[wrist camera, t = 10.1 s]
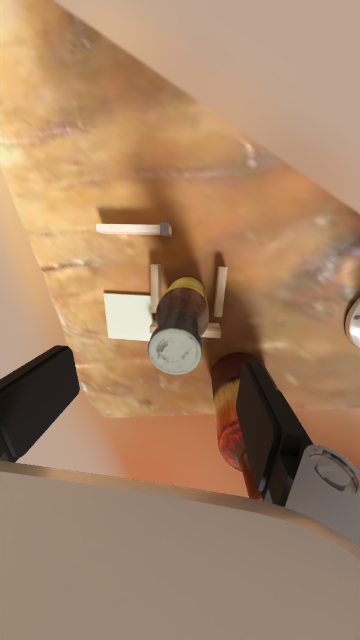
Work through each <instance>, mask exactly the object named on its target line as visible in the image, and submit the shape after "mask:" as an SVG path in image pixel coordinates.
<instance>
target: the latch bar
mask: <svg viewBox="0 0 360 640" xmlns="http://www.w3.org/2000/svg"><path fill="white" fill-rule="evenodd" d="M96 229H97V232H101V233H105V234H138V235H162V236H163V237H172V226H171V224H170V223H169V222H160V225H135V224H96Z"/></svg>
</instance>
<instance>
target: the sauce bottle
mask: <svg viewBox="0 0 360 640" xmlns="http://www.w3.org/2000/svg"><path fill="white" fill-rule="evenodd" d="M156 322H157V325H158V327H157V328H156V329H155V330H154V332H153V333H152V335H151V338H150V341H149V344H148V354H149V357H150V360H151V362H152V363H153V365H154V366H155V367H156V368H158V369H159V370H161V371H163V372H165V373H169V374H176V375H180V374H185V373H187V372H190V371H191V370H193V369H194V368H195V367H196V366H197V365H198V363H199V361H200V359H201V354H202V342H201V339H200V337H201V336H202V335H203V334H204V333H205V331H206V329H207V327H208V322H209V314H208V304H207V300H206V295H205V291H204V288H203V286H202V285H201V283H200V282H199V281H197V280H196V279H194V278H192V277H183V278H180V279H177V280H176V281H175V282H173V283H172V285H171V286H170V287H169V289H168V290H167V291H166V293H165V294H164V295H163V297H162V298H161V300H160V301H159V303H158V306H157V309H156Z"/></svg>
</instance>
